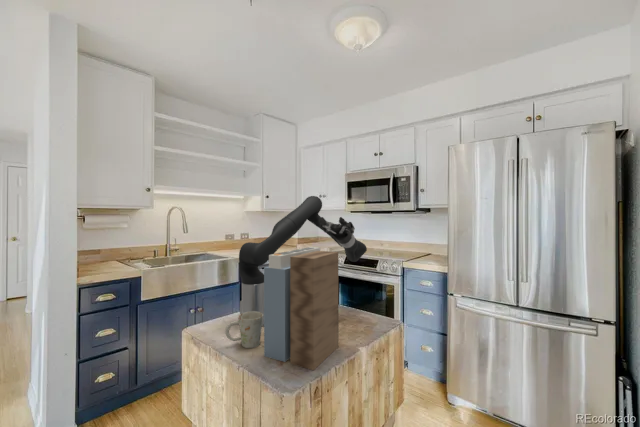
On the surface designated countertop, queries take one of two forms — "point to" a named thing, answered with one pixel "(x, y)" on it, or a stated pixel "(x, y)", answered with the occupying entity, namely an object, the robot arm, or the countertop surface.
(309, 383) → the countertop surface
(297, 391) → the countertop surface
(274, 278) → the blue stand
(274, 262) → the light grey square-ended block
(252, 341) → the mug
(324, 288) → the walnut stand
